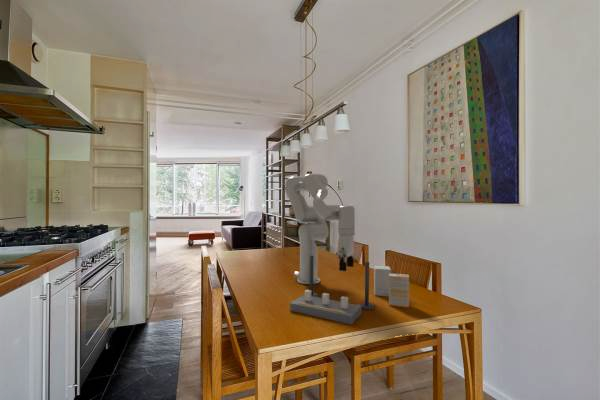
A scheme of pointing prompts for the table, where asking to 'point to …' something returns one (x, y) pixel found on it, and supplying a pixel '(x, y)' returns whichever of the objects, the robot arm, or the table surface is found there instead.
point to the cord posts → (365, 305)
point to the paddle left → (307, 295)
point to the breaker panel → (326, 309)
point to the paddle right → (344, 302)
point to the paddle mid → (325, 298)
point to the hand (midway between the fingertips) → (346, 268)
